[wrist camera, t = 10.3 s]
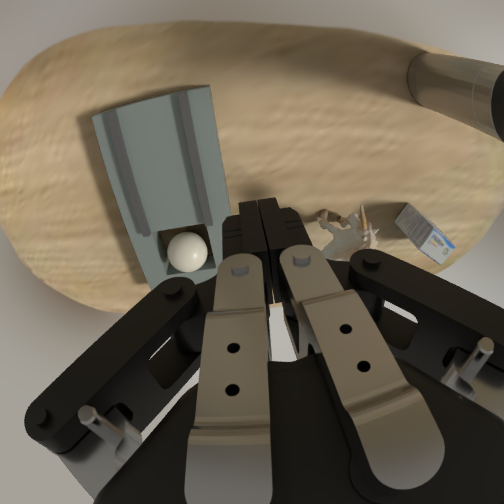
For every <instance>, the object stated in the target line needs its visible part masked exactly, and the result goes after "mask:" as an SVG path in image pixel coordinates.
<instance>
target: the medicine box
mask: <svg viewBox="0 0 504 504" xmlns="http://www.w3.org/2000/svg"><path fill="white" fill-rule="evenodd" d="M394 222H395V224H396V225H397V226H398V227H399V228H400V229H401V230H402V231H403V232H404V234H405V235H406V236H407V237H408V238H409V239H410V240H411V242H412V243H413V244H414V245H415V246H416V247H417V248H418V249H419V250H420V251H422V252H423V253H424V254H426V255H427V256H429V257H430V258H431V259H433V260H434V261H436V262H437V263H438V264H440V265H441V264H442V263H443V262H444V261H445V260H446V258H447V257H448V256H449V255H450V254H451V252H452V251H453V250H454V248H455V245H454V244H453V243H452V242H451V241H450V240H449V239H448V238H447V237H446V236H445V235H444V234H443V232H442V231H441V230H440V229H439V228H438V227H437V226H436V225H435V224H434V223H433V222H431V221H430V220H429V219H428V218H427V217H425V216H424V215H423V214H422V213H420V212H419V211H418V210H417V209H415V208H414V207H413V206H412V205H411V204H409V203H407V205H406V206H405V208H404V209H403V210H402V212H401V213H400V214H399V216H398V217H397V218H396V220H395V221H394Z"/></svg>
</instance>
